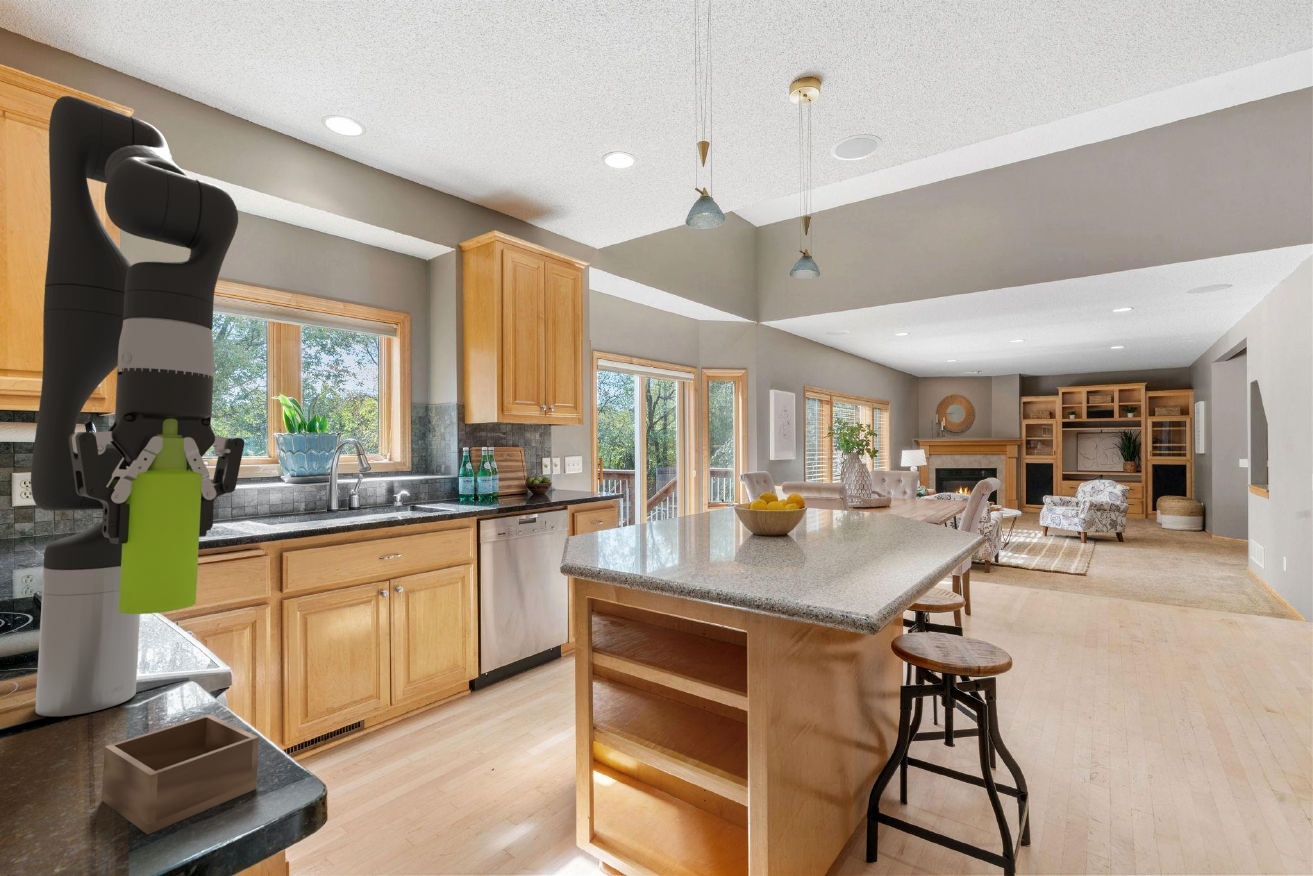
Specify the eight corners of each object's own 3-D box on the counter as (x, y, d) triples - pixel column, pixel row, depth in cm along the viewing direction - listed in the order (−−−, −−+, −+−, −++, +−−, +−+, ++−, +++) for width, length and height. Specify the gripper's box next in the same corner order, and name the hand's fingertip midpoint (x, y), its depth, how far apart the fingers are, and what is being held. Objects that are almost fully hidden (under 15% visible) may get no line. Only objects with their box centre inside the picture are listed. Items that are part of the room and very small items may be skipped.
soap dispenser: (183, 596, 65) (193, 408, 66) (203, 606, 60) (213, 404, 61) (110, 605, 60) (121, 403, 61) (126, 617, 56) (137, 399, 57)
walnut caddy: (101, 800, 55) (104, 746, 56) (207, 762, 63) (209, 714, 63) (147, 834, 51) (150, 775, 51) (256, 788, 58) (258, 737, 58)
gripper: (228, 381, 69) (221, 531, 69) (56, 362, 57) (46, 544, 56) (263, 377, 66) (257, 535, 65) (88, 356, 53) (77, 551, 53)
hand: (159, 539), depth 61 cm, fingers closed on soap dispenser, 6 cm apart
